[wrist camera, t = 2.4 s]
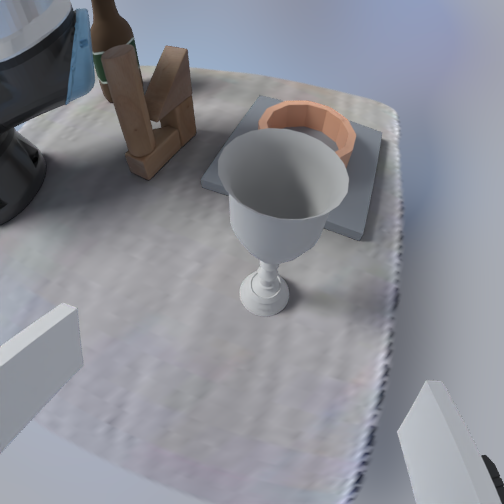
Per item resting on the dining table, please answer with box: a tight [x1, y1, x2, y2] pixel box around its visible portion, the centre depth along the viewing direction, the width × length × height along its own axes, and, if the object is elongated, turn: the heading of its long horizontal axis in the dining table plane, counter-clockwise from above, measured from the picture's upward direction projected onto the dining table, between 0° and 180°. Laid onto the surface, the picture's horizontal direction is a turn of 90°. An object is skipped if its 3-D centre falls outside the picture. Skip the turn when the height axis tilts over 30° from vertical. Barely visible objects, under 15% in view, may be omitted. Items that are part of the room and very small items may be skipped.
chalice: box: [218, 128, 349, 316], centre depth 25 cm, size 7×7×18 cm
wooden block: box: [101, 44, 196, 180], centre depth 35 cm, size 4×11×18 cm, turn 150°
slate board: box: [201, 95, 382, 241], centre depth 42 cm, size 20×20×2 cm
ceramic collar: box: [258, 101, 356, 168], centre depth 39 cm, size 12×12×4 cm
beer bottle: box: [90, 0, 143, 103], centre depth 40 cm, size 8×8×24 cm
